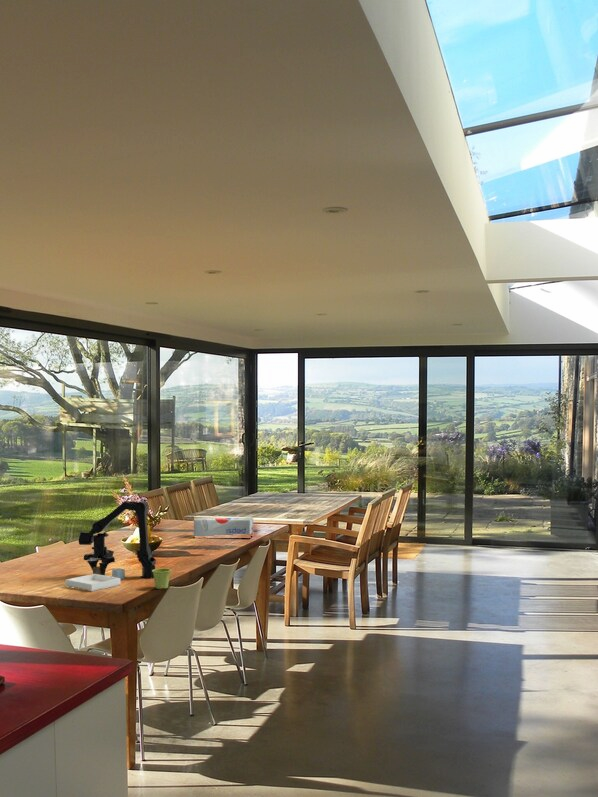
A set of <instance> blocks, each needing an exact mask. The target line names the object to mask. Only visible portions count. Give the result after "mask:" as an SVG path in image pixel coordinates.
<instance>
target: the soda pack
mask: <svg viewBox="0 0 598 797" xmlns="http://www.w3.org/2000/svg"><path fill="white" fill-rule="evenodd" d="M252 532H253V533H254V517H198V518H195V519H193V537H194V536H214V535H233V534H251V533H252Z"/></svg>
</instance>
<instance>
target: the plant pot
mask: <svg viewBox="0 0 598 797" xmlns="http://www.w3.org/2000/svg"><path fill="white" fill-rule="evenodd" d="M152 572H153V575H154V578H153V580H154V587H155V589H156V590H157V589H158V590H161V589H168V588H169V581H170V576H171V575H170V574H171V572H172V569H170V568H155V569H154V570H152Z"/></svg>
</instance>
